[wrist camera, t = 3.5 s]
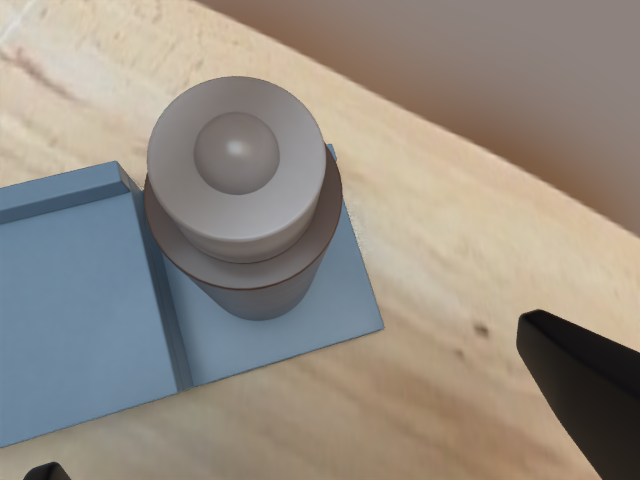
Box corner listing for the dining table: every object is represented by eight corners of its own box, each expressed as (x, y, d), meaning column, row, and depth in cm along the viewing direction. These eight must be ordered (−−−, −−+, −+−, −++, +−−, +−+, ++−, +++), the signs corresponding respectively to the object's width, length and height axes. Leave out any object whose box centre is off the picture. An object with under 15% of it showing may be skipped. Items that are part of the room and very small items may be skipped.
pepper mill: (334, 249, 21) (410, 107, 9) (274, 342, 20) (271, 321, 8) (244, 192, 22) (201, -22, 9) (180, 281, 21) (39, 170, 8)
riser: (381, 329, 22) (413, 321, 17) (-36, 458, 19) (-148, 494, 14) (327, 160, 23) (341, 105, 18) (-66, 260, 21) (-176, 228, 16)
